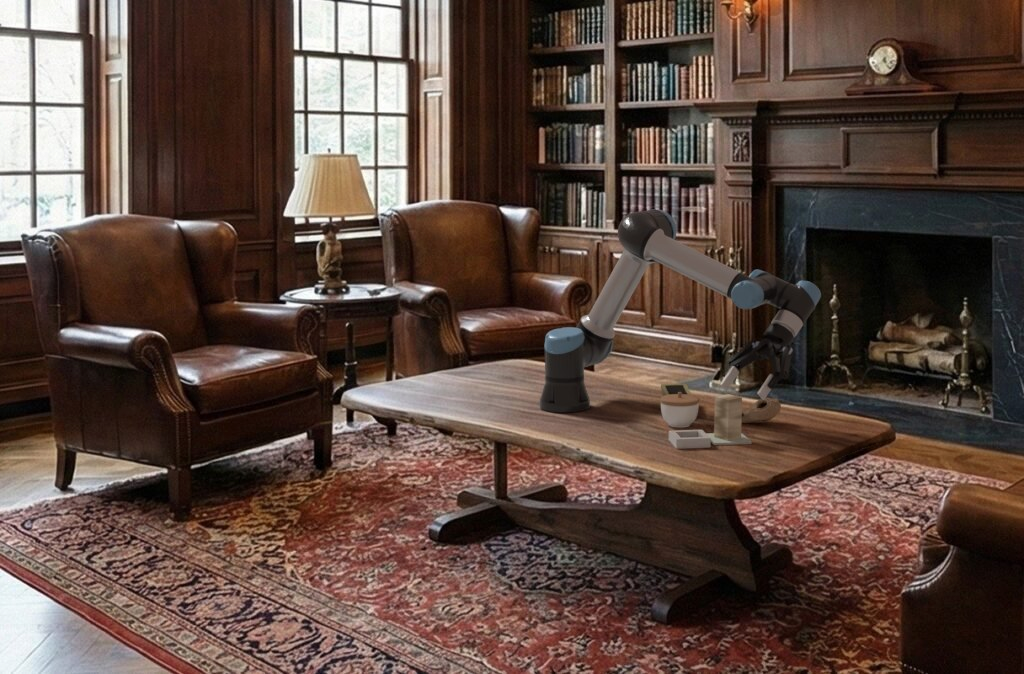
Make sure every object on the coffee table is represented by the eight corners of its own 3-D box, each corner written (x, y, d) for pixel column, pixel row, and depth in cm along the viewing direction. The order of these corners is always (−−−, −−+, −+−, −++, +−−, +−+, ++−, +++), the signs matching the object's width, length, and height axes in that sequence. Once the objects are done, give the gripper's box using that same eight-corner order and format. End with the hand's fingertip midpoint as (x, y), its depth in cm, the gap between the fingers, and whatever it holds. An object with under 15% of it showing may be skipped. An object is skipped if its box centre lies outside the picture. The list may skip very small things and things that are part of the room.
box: (685, 397, 344) (685, 382, 343) (702, 427, 323) (702, 411, 321) (658, 399, 344) (658, 383, 342) (673, 429, 323) (674, 413, 321)
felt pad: (714, 445, 295) (714, 443, 295) (704, 435, 305) (704, 433, 305) (751, 443, 296) (751, 441, 296) (740, 434, 306) (740, 432, 306)
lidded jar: (656, 428, 314) (656, 395, 312) (665, 419, 324) (665, 387, 322) (694, 431, 310) (694, 397, 309) (702, 422, 320) (702, 389, 318)
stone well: (676, 448, 292) (676, 439, 292) (668, 439, 301) (668, 430, 301) (710, 447, 293) (710, 438, 293) (701, 438, 302) (702, 429, 302)
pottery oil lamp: (735, 418, 323) (736, 394, 322) (778, 419, 321) (779, 395, 320) (737, 426, 315) (737, 401, 314) (781, 427, 313) (782, 402, 312)
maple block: (714, 437, 301) (714, 396, 299) (727, 434, 304) (728, 394, 302) (727, 440, 297) (728, 400, 295) (741, 437, 300) (742, 397, 298)
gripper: (825, 345, 298) (783, 409, 292) (755, 333, 319) (715, 392, 313) (812, 327, 294) (770, 391, 289) (742, 316, 315) (701, 375, 309)
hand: (741, 392), depth 301 cm, fingers open, 13 cm apart
